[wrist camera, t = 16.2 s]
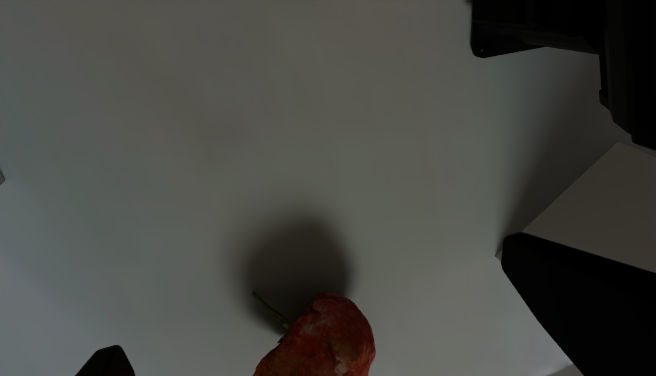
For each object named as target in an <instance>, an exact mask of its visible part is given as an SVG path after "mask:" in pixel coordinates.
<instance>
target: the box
mask: <svg viewBox="0 0 656 376" xmlns="http://www.w3.org/2000/svg"><path fill="white" fill-rule="evenodd" d="M4 181H5V179H4V178H3V176H2V174H1V172H0V185H1V184H2V183H3V182H4Z"/></svg>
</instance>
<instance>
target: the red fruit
mask: <svg viewBox="0 0 656 376" xmlns="http://www.w3.org/2000/svg"><path fill="white" fill-rule="evenodd" d="M252 294H253V295H254V296H255V297H256V298H257V299H258V300H259V301H260V302H261V304H262V305H263V306H264V307H265V308H266V309H267V311H268V312H269V313H270V314H271V315H272V316H274V317H275V318H277V319H278V320H279V321H280V323H281V324H282V325H283V326H284V327H285V329H286V330H287V331H286V333H285V335H284V336H283V337H284V338H283V337H282V338H283V339H282V338H280V340H279V341H278V343H280V344H279V345H278V346H277V347H276V348H274V349H273V350H271V351H270V352H269V353H268V354H267V355H266V356H265V357H264V358H263V359H262V360H261V361H260V363H259V364H258V365H257V367H256V371H255V373H254V375H253V376H368V372H369V369H370V365H371V364H372V362H373V360H374V358H375V354H376V350H375V344H374V338H373V333H372V329H371V326H370V325H369V323H368V320H367V319H366V318H365V316H364V315H363V314H362V312H361V311H360V310H359V309H358V307H357V306H356V305H355V303H354V302H352V301H351V300H350V299H347V298H345V297H343V296H340V295H338V294H335V293H328V292H321V293H318V294H317V295H316V296H315V297H314V299H313V300H312V301H311V302H310V304H309V305H308V306H307V308H306V309H305V313H304V316H301V317H300V318H297V319H296V320H295V321H294V322H293V323H292V324H290V323H289V322H288V321H287V320H286V319H285V318H284V317H283V316H282V315H281V314H280V313H278V312H277V311H275V310H274V309H272V308H271V307H270V306H269V305H268V304H267V303H265V302H264V301H263V300H262V299H261V298H260V297H259V296H258V295H256V294H255V293H254V292H253V293H252Z"/></svg>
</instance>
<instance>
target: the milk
mask: <svg viewBox="0 0 656 376" xmlns="http://www.w3.org/2000/svg"><path fill="white" fill-rule="evenodd" d="M521 232H524V233H527V234H530V235H534V236H537V237H540V238H543V239H547V240H550V241H553V242H556V243H560V244H563V245H566V246H569V247H573V248H576V249H579V250H582V251H586V252H589V253H592V254H596V255H599V256H602V257H605V258H609V259H612V260H615V261H618V262H622V263H625V264H628V265H631V266H635V267H638V268H641V269H644V270H648V271H651V272H654V273H656V157H655V156H652V155H650V154H648V153H645V152H643V151H641V150H638V149H636V148H633V147H631V146H629V145H626V144H624V143H622V142H619V141H618V142H617V143H615V144H614V145H613V146H612V147H611V148H610V149H609V150H608V151H607V152H606V153H605V154H604V155H603V156H602V157H601V158H599V159H598V160H597V161H596V162H595V163H594V164H593V165H592V166H591V167H590V168H589V169H588V170H587V171H586V172H584V173H583V174H582V175H581V176H580V177H579V178H578V179H577V180H576V181H575V182H574V183H573V184H572V185H571V186H570V187H568V188H567V189H566V190H565V191H564V192H563V193H562V194H561V195H560V196H559V197H558V198H557V199H556V200H555V201H553V202H552V203H551V204H550V205H549V206H548V207H547V208H546V209H545V210H544V211H543V212H542V213H541V214H540V215H538V216H537V217H536V218H535V219H534V220H533V221H532V222H531V223H530V224H529V225H528V226H527V227H526V228H525V229H524V230H522V231H521ZM501 256H502V250H501V251H500V252H499V253H498V254H497V255H496V256H495V257H496V258H497V259H498V260H499V261H500V262H501Z"/></svg>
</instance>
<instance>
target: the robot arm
mask: <svg viewBox="0 0 656 376" xmlns="http://www.w3.org/2000/svg"><path fill="white" fill-rule="evenodd" d="M472 18H473V20H474V22H473V40H472V52H473V54H474V55H475V56H476V57H480V58H487V57H492V56H498V55H503V54H508V53H514V52H519V51H525V50H530V49H536V48H541V47H552V48H559V49H565V50H572V51H578V52H585V53H591V54H598V55H599V61H600V74H601V88H602V89H601V90H600V91H599V99H600V103H601V104H602V105H604V106H605V107H606V108H607V109H609V110H610V113H611V116H612V119H613V122H615V123H616V124H617V125H618V126H620V127H621V128H622V129H623V130H625V131H626V132H627V133H629V134H631V137H632V142H634V143H635V144H638V145H640V146H643V147H646V148H649V149H652V150H655V151H656V0H473V17H472ZM483 44H484V46H485V47H484V50H483V51H482V52H481V46H482V45H483ZM501 266H502V269H503V271H504V273H505V274H506V276H507V277H508V278H509V280H510V281H511V283H512V284H513V286H514V287H515V289H516V290H517V291H518V293H519V294H520V296H521V297H522V299H523V300H524V302H525V303H526V304H527V306H528V307H529V309H530V310H531V312H532V313H533V315H534V316H535V317H536V319H537V320H538V321H539V323H540V324H541V325H542V326H543V328H544V329H545V330H546V331H547V333H548V334H549V335H550V336H551V337H552V339H553V340H554V341H555V342H556V343H557V344H558V346H559V347H560V348H561V349H562V350H563V352H564V353H565V354H566V355H567V356H568V357H569V359H570V360H571V361H572V362H573V363H574V365H575V366H576V367H577V368H578V369H579V370H580V372H581V373H582V374H583V375H584V376H656V273H654V272H651V271H648V270H644V269H641V268H638V267H635V266H631V265H628V264H625V263H622V262H618V261H615V260H612V259H609V258H605V257H602V256H599V255H596V254H592V253H589V252H586V251H582V250H579V249H576V248H573V247H569V246H566V245H563V244H560V243H556V242H553V241H550V240H547V239H543V238H540V237H537V236H534V235H530V234H527V233H524V232H517V233H514V234H510V235H507V236H506V237H505V238H504V240H503V248H502V256H501ZM75 376H135V373H134V370H133V368H132V366H131V364H130V362H129V360H128V358H127V356H126V354H125V352H124V350H123V349H122V347H121V346H119V345H113V346H110V347H106V348H103V349H100V350H97V351H96V352H95V353H94V354H93V355H92V356H91V358H90V359H89V360H88V361H87V362H86V363H85V365H84V366H83V367H82V368H81V369H80V371H79V372H78V373H77V374H76V375H75Z"/></svg>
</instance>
